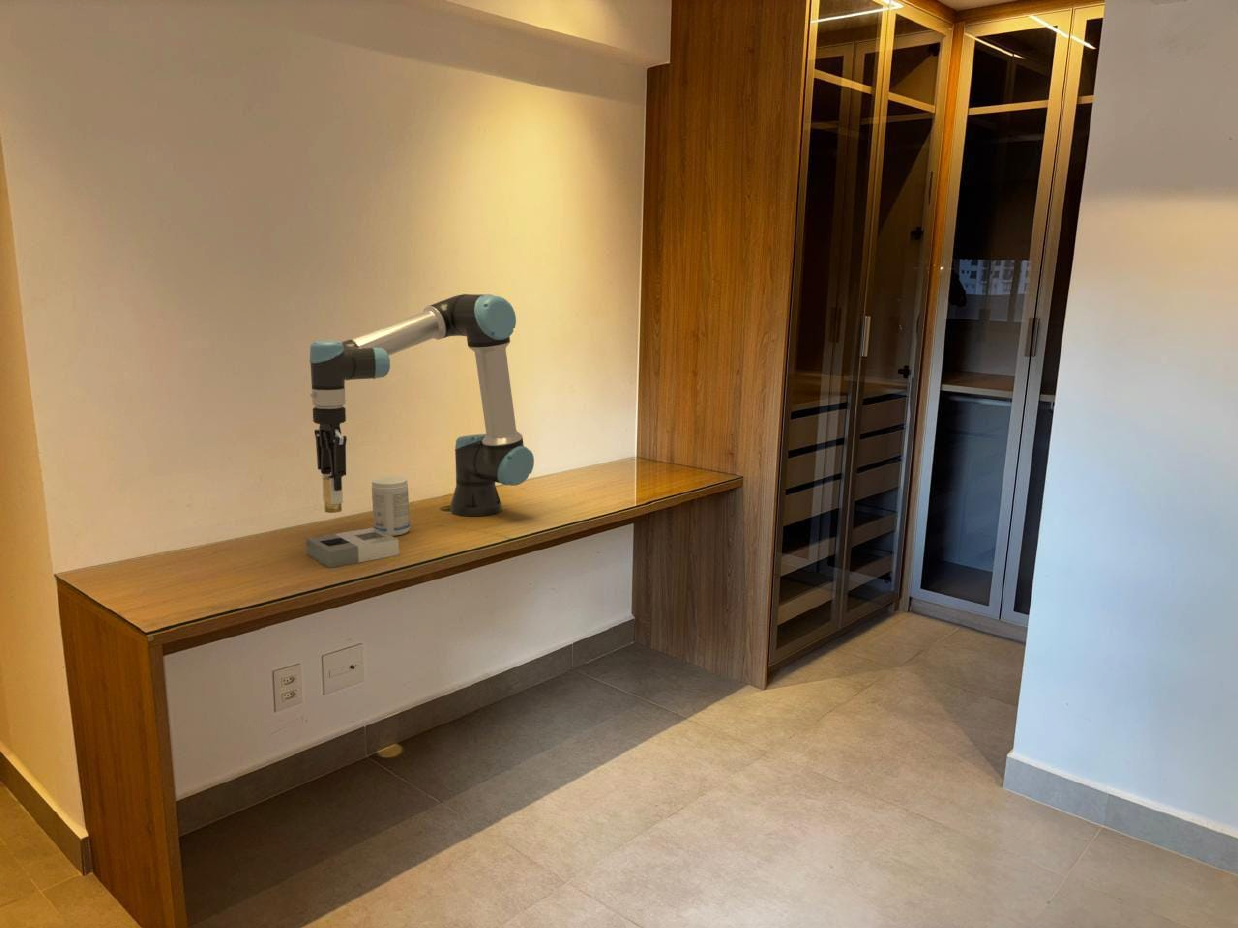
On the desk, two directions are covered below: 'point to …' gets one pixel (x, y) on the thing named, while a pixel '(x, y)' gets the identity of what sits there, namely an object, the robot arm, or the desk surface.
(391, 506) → the supplement tub
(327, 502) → the amber translucent cylinder
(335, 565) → the block
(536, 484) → the desk surface
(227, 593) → the desk surface
